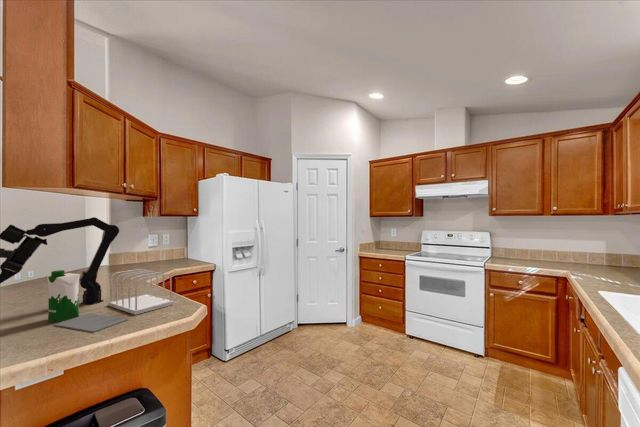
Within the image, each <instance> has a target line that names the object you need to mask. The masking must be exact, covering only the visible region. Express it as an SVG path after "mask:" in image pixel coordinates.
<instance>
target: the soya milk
mask: <svg viewBox="0 0 640 427" xmlns="http://www.w3.org/2000/svg"><path fill="white" fill-rule="evenodd" d="M50 272H51V273H50V274H51V275H49V276H46V279H47V285H48V286H47V288H48V311H47V313H48V315H47V316H48V318H47V320H48V321H50V322H57V323H60V322H64V321H67V320H70V319H73V318H77V317H80V314H79V312H80V310H79V287H80V286H79V285H80V283H79V278H80V276H81V274H80V273H69V272H67V273H65V272H66V271H65V270H62V269H61V270H59V269H58V270H53V271H50Z"/></svg>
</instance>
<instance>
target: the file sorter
mask: <svg viewBox="0 0 640 427" xmlns="http://www.w3.org/2000/svg"><path fill="white" fill-rule="evenodd" d="M117 274H119V275H118V276H117V277H116V279H115V298H116V300H114V301H113V277H114V276H115V275H117ZM123 276H124V277H123ZM165 276H168V277H169V285H170V287H169V299H167V298H166V296H165V293H166V292H165V288H166V287H165ZM120 277H123V279H122V280H121V299H119V295H118V294H119V291H118V287H119V286H118V283H119V282H118V280H119V278H120ZM129 277H132V278H130V279H129V280H128V283H127V284H128V285H127V287H128V292H127V294H128V296H127V298H125V297H124V296H125V295H124V293H125V292H124V282H125V279H127V278H129ZM159 277H162V289H163V290H162V296H163V297H159ZM153 278H156V280H155V281H156V296H154V295H153ZM133 279H138V280H136V282H135V287H134V288H135V295H134V296H131V282H132V280H133ZM147 279H150V294H147ZM172 279H173V278H172V275H171V274H168V273H164V274H163V272H160V271H159V272H156V271H154V270H151V271H150V270H149V269H148V270H147V269H146V270H145V269H144V268H138V269H132V270H131V269H130V270H125V271H117V272H114V273H113V274H111V277H110V301H109V302H108V304H107V306H109V307H111V308H114V309H117V310H120V311H123V312H126V313H129V314H132V315H135V316H136V315H139V314H143V313H147V312H151V311H154V310H157V309H162V308H166V307H169V306H173V305H174V304H175V301H174V300H172V299H173V298H172V297H173V295H172V293H173V292H172V291H173V290H172V287H173V286H172V283H173V282H172V281H173V280H172ZM142 280H144V294H141V295H138V283H139V282H140V281H142Z"/></svg>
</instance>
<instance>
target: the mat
mask: <svg viewBox="0 0 640 427" xmlns="http://www.w3.org/2000/svg"><path fill="white" fill-rule="evenodd" d="M127 321H129V319H128V318H122V317H115V316H108V315H102V314H95V313H86V314H84V315H81V316H80V315H79V317H75V318H72V319H69V320H65V321H62V322H57V323H54V324H53V326H54V327H59V328H60V327H61V328H64V329H70V330H71V329H72V330H76V331H82V332H86V333H87V332H88V333H92V334H94V333H97V332H101V331H103V330H106V329H109V328H111V327H114V326H116V325H119V324H122V323H125V322H127Z"/></svg>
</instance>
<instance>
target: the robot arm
mask: <svg viewBox="0 0 640 427" xmlns="http://www.w3.org/2000/svg"><path fill="white" fill-rule="evenodd" d="M93 226H94V227H95V228H97V229H100V230H101V231H103V232H102V235H101V241H100V243H99V245H98V247H97V249H96V252H95V254H94V255H93V258H92V260H91V262H90V265H89V267H88V268H87V269H86V270H82V271H81V274H80V278H79V285H80V287H81V288H82V289H85V290H84V291H83V293H82V302H80V303H81V305H82V304H83V305H93V304H94V305H95V304H98V303H101V302H104V299H102V286H101V285H100V283H99V282H98V281H97V278H98V271H99V269H100V267H101V264H102V263H103V260H104V258H105V257H106V253H107V252H108V250H109V247H110V245H111V244H112V242H113V241H115V239H116V237H117V236H118V235H119V233H120V228H119V226H117V225H115V224H109V223H107V222H105V221H103V220H101V219H99V218H98V217H94V216H93V217H89V218H84V219H79V220H78V219H77V220H73V221H66V222H60V223H59V222H56V223H53V222H52V223H39V224H38V225H36V226H35V227H34V228H32V229H31V228H30V229H27V230H24V229H22V228H19V227H17V226H15V225H14V224H9V225H8V226H7V227H6V228H5V229H4V230H2V232H1V233H0V240H2V241H5V242H6V243H10V244H11V245H14V244H15V243H16V244H19V243H20V244H19V245H18V246H17V247H15V248H14V250H11V249H5V248H0V258H2V259H5V260H3V262H2V263H1V264H0V284H2V283H4V282H5V281H7V280H8V279H11V278H12V277H13V276H15V275H17V274H19V273H20V272H21V271H22V269H23V268H24V265H25V264H26V263H27V262H28V260H29V259H30V258H31V257H32V256H33V255H34V253H35V252H36V251H37V250H38V248H39V247H40V246H41V245H45V246H47V245H48V241H47V240H48V239H47V238H45V237H49V236H51V235H54V234H57V233H60V232H64V231H69V230H75V229H81V228H86V227H93ZM31 236H34V237H31ZM42 237H43V238H44V239H43V238H42ZM22 240H23V241H22ZM21 241H22V242H21Z"/></svg>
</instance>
